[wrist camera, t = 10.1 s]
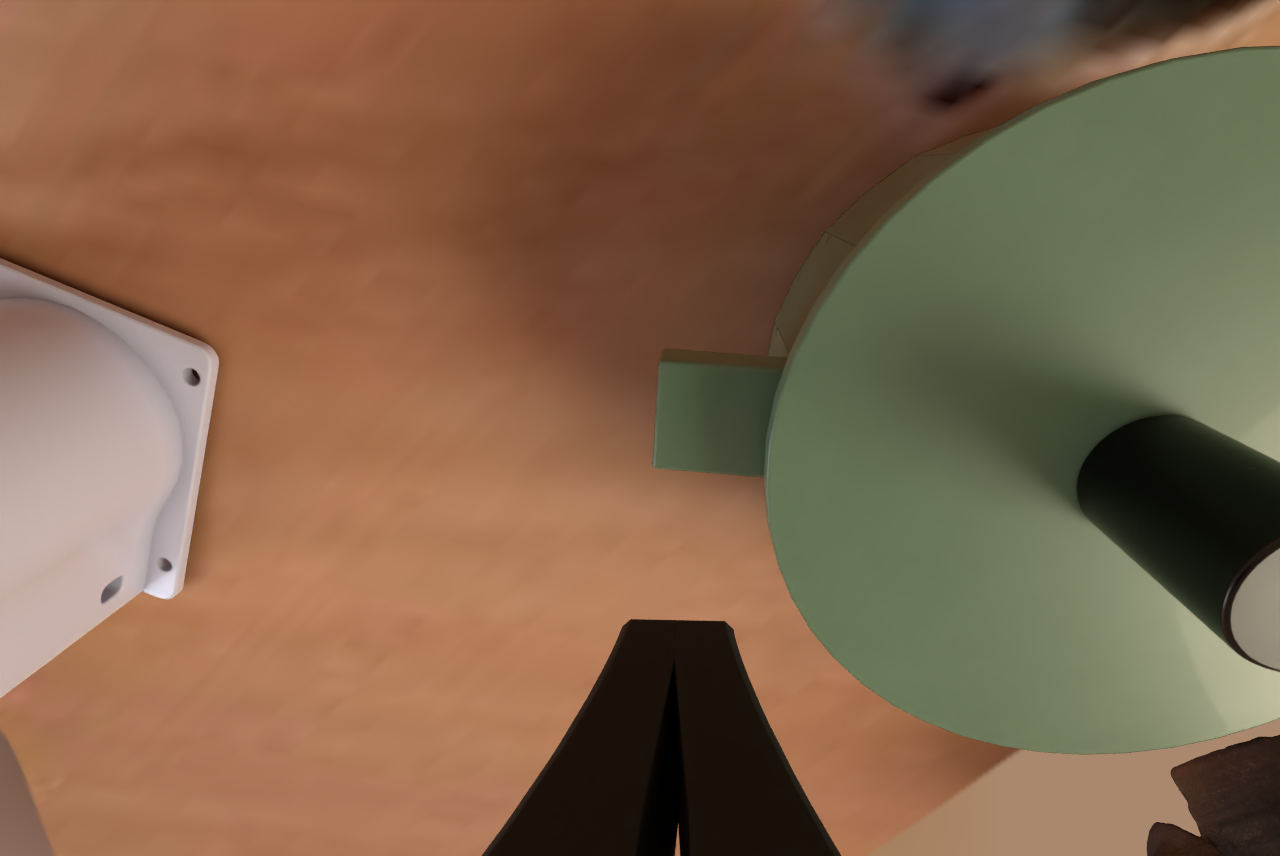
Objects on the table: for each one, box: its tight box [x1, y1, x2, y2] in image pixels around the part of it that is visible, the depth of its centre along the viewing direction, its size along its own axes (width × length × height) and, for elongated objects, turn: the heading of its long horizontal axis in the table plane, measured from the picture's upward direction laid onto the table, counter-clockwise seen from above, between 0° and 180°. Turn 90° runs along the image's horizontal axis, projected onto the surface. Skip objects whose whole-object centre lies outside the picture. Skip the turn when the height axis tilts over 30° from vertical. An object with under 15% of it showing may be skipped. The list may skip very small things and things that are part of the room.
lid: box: [764, 46, 1280, 754], centre depth 10 cm, size 13×13×5 cm
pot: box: [652, 126, 998, 477], centre depth 14 cm, size 12×18×5 cm
